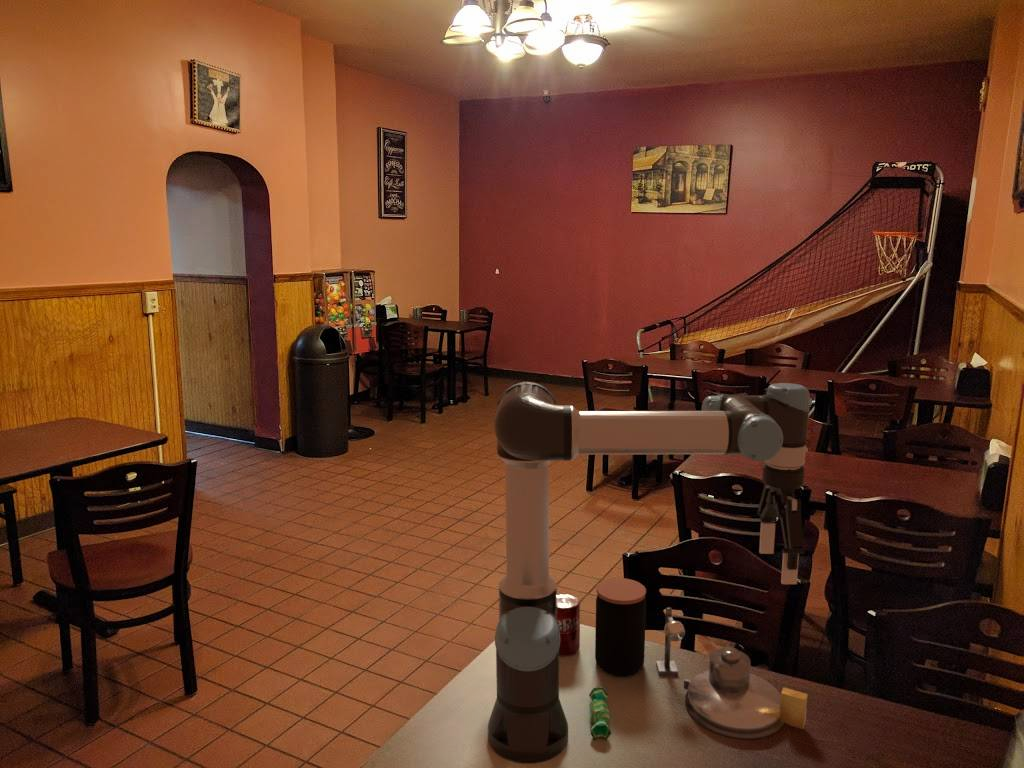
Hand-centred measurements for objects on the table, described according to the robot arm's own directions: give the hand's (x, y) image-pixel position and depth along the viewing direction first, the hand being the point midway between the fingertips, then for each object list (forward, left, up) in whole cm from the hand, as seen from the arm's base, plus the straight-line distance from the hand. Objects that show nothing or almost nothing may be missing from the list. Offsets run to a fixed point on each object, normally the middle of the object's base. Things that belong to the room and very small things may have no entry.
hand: (777, 567), depth 146 cm
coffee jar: (-29, +11, -28) cm, 42 cm away
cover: (-8, 0, -25) cm, 26 cm away
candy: (-35, -8, -28) cm, 46 cm away
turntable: (-7, -4, -27) cm, 28 cm away
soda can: (-41, +17, -28) cm, 53 cm away
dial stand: (-19, +6, -28) cm, 34 cm away
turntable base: (-8, -4, -28) cm, 30 cm away
